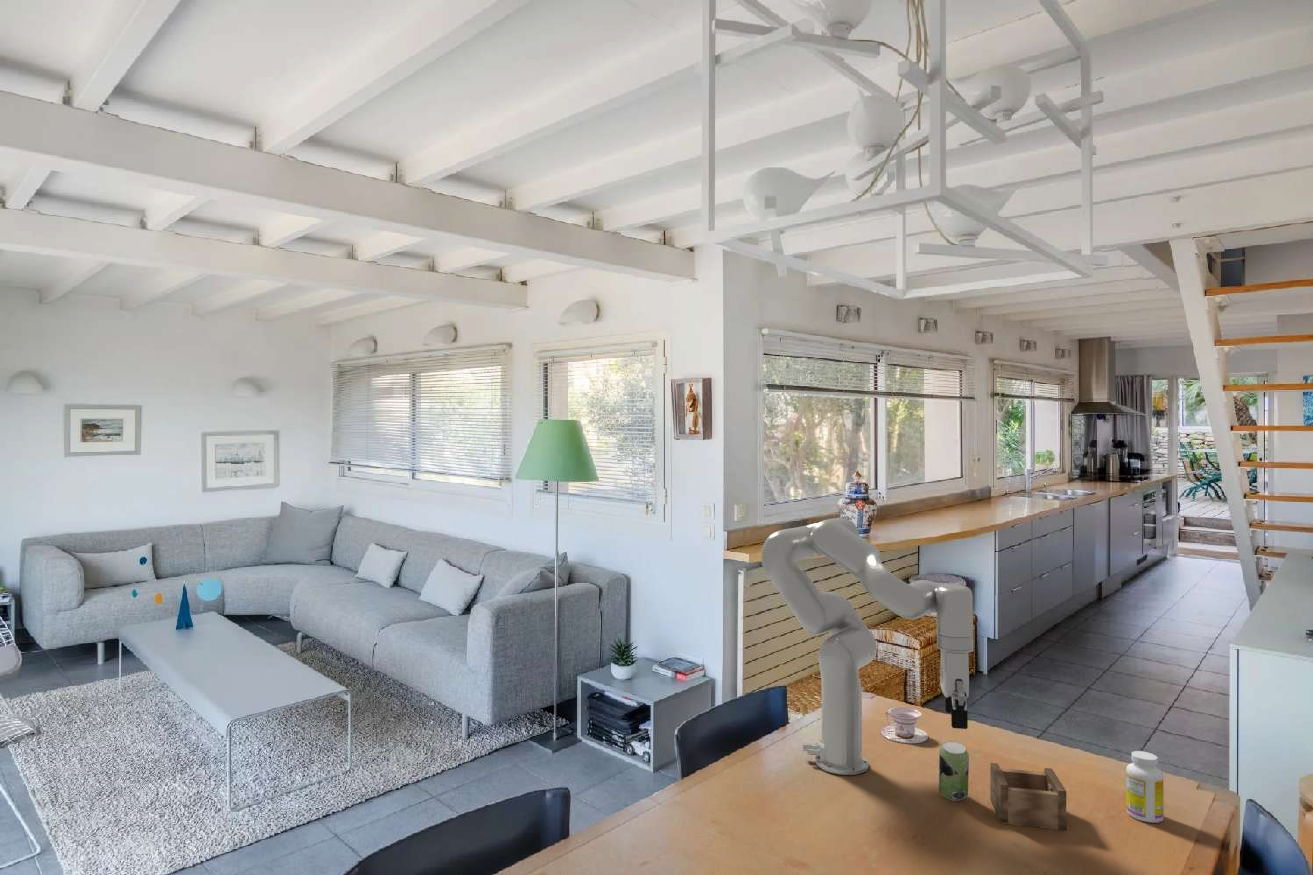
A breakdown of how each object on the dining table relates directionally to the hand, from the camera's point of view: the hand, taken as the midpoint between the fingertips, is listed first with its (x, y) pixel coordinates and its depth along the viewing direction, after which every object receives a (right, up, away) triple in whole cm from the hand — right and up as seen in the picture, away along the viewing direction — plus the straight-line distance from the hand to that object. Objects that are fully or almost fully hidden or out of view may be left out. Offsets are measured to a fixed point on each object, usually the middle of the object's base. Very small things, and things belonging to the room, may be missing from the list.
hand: (956, 720), depth 170 cm
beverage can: (0, -18, 0) cm, 18 cm away
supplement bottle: (+37, -18, -7) cm, 41 cm away
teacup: (0, -18, +36) cm, 41 cm away
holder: (+12, -17, -7) cm, 22 cm away
